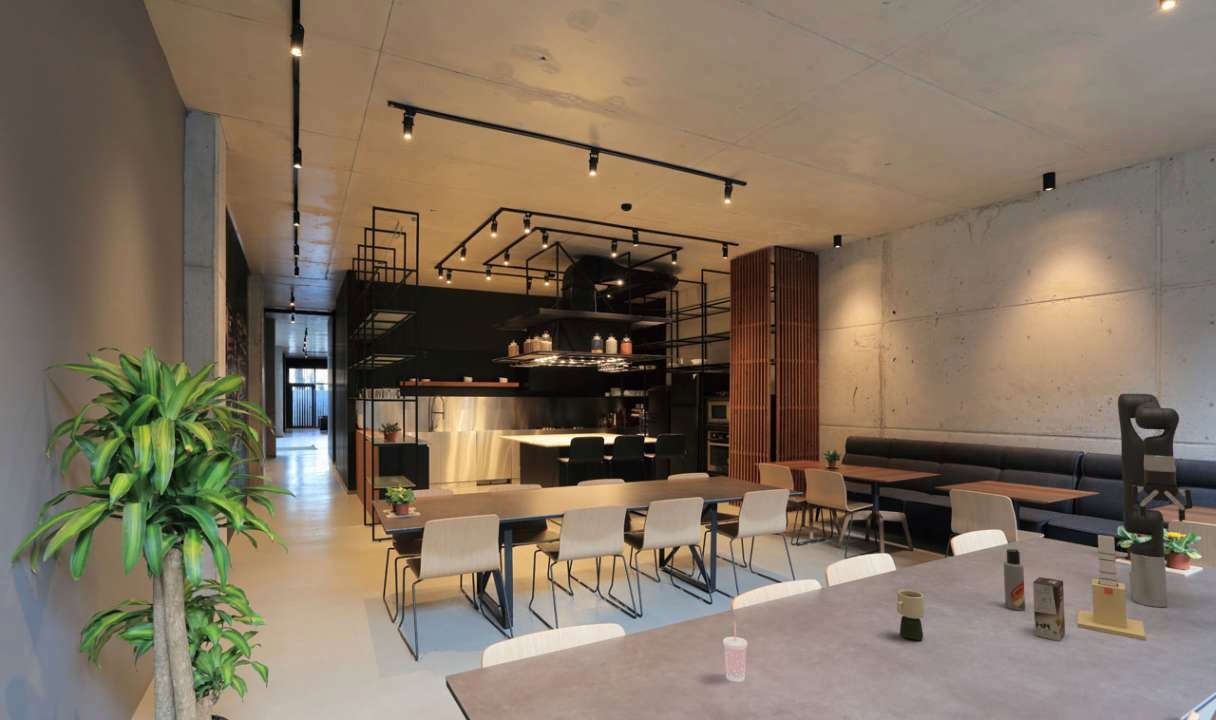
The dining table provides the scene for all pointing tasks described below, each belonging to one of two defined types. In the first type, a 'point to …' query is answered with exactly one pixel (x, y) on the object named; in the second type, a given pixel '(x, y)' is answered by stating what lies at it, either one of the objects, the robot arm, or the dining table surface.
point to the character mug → (911, 613)
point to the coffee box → (1049, 608)
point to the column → (1107, 560)
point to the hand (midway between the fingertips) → (1162, 519)
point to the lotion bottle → (1014, 581)
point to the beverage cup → (735, 657)
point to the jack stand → (1110, 612)
